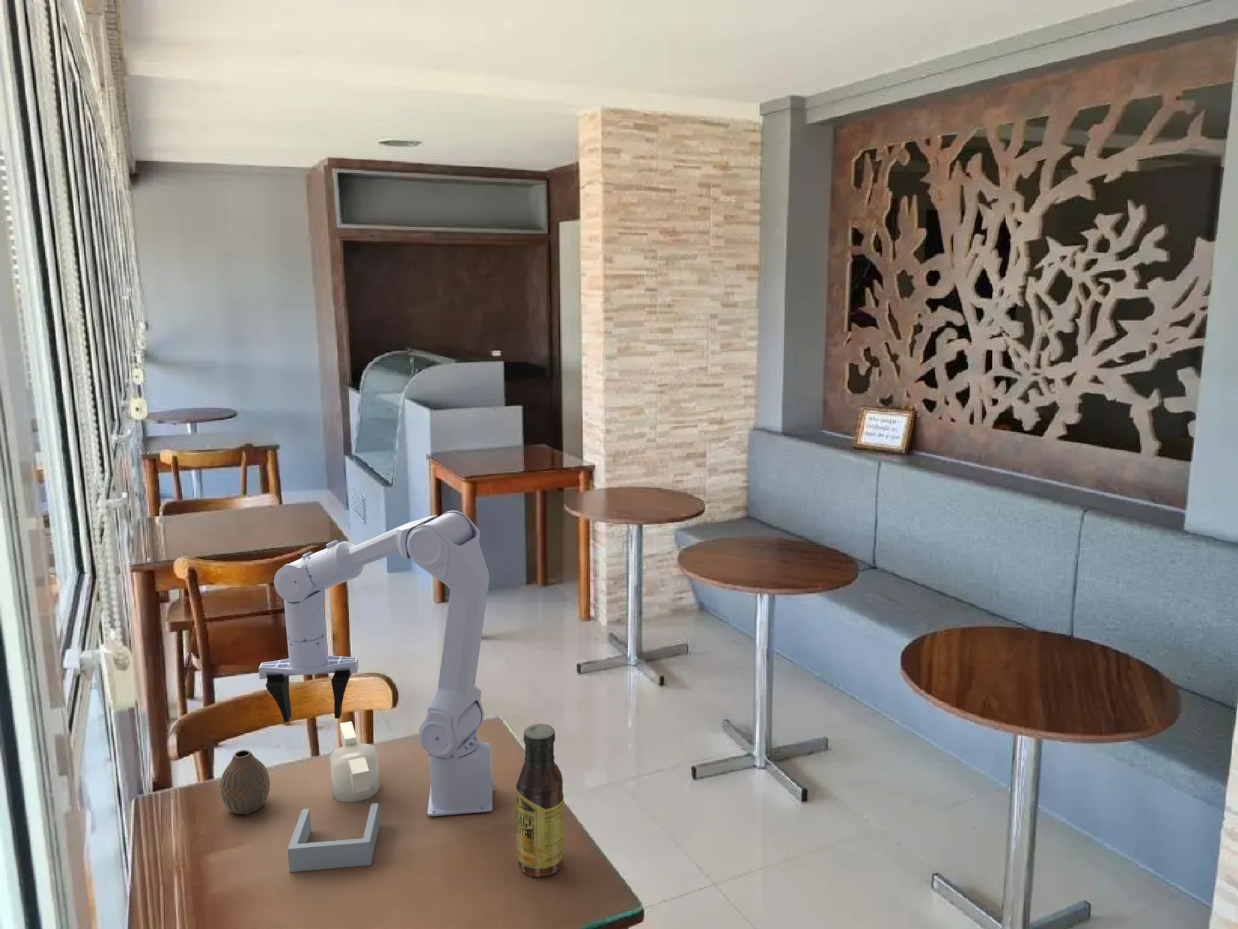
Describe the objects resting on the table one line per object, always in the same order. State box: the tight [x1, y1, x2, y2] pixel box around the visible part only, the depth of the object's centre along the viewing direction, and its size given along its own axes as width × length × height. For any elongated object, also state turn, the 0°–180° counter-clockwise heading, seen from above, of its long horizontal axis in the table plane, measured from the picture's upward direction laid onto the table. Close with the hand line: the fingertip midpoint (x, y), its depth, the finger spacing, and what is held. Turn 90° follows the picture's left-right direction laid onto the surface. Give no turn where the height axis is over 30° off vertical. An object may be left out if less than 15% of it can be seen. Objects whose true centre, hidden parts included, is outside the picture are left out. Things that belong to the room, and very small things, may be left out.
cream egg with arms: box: [329, 721, 381, 803], centre depth 143 cm, size 17×7×7 cm, turn 23°
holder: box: [287, 802, 380, 873], centre depth 128 cm, size 11×10×3 cm
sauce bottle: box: [515, 723, 565, 878], centre depth 122 cm, size 6×6×20 cm
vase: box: [219, 749, 271, 815], centre depth 138 cm, size 7×7×9 cm
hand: (313, 717), depth 145 cm, fingers open, 7 cm apart
